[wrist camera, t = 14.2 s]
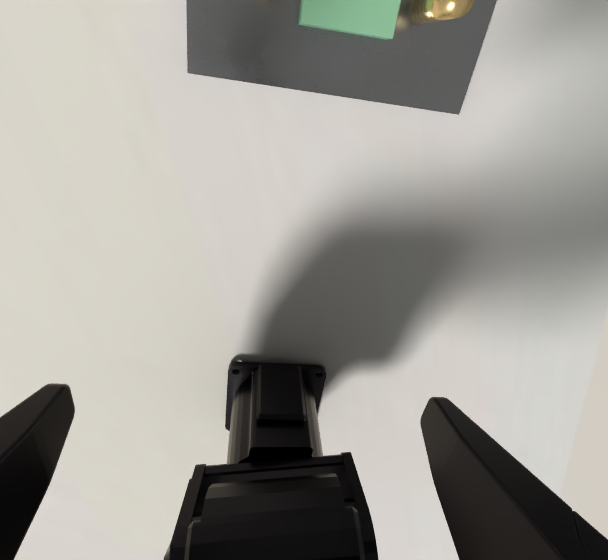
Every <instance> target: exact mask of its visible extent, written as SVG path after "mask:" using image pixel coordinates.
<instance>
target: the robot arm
mask: <svg viewBox="0 0 608 560" xmlns="http://www.w3.org/2000/svg"><path fill="white" fill-rule="evenodd" d="M234 369H238V370H234ZM318 372H320V373H318ZM325 378H326V369H325V367H323V366H321V365H303V364H278V363H254V362H233V363H231V364H230V365H229V369H228V384H227V404H226V423H225V427H226V429H227V430H229V431H230V434H229V445H228V456H227V464H221V465H209V466H206V464H200V465H196V466H195V469H194V473H193V476H192V479H190V480H189V483H188V487H187V490H186V493H185V497H184V500H183V503H182V507H181V510H180V514H179V517H178V520H177V524H176V527H175V530H174V534H173V537H172V541H171V543H170V545H169V548H168V550H167V552H166V554H165V556H164V560H378V552H377V546H376V539H375V533H374V528H373V524H372V519H371V515H370V512H369V508H368V505H367V502H366V499H365V496H364V492H363V489H362V486H361V483H360V480H359V477H358V474H357V470H356V467H355V464H354V461H353V458H352V455H351V452H345V453H341V455H329V456H323V453H322V446H321V439H320V432H319V425H318V418H317V412H318V408H319V403H320V399H321V395H322V391H323V387H324V383H325ZM74 413H75V407H74V403H73V399H72V394H71V390H70V387H69V386H68V385H67V384H47V385H45V386H44V387H42V388H41V389H40V390H38V391H37V392H35V393H34V394H33V395H31V396H30V397H28V398H27V399H25V400H24V401H23V402H21V403H20V404H18V405H17V406H16V407H14V408H13V409H11V410H10V411H9V412H7V413H6V414H4V415H3V416H1V417H0V560H14V558H15V556H16V554H17V552H18V550H19V547H20V545H21V543H22V541H23V539H24V537H25V535H26V533H27V531H28V529H29V527H30V525H31V522H32V520H33V518H34V516H35V514H36V512H37V510H38V508H39V506H40V504H41V502H42V499H43V497H44V495H45V493H46V491H47V489H48V486H49V484H50V482H51V479H52V477H53V474H54V471H55V468H56V466H57V463H58V460H59V457H60V454H61V452H62V449H63V446H64V443H65V440H66V437H67V435H68V432H69V429H70V426H71V423H72V421H73V418H74ZM421 429H422V433H423V437H424V442H425V446H426V451H427V455H428V459H429V464H430V468H431V473H432V477H433V480H434V484H435V487H436V491H437V494H438V497H439V500H440V503H441V506H442V509H443V512H444V515H445V518H446V521H447V524H448V527H449V530H450V533H451V536H452V539H453V542H454V545H455V548H456V551H457V554H458V557H459V560H608V539H606V538H605V537H604V536H603V535H602V534H600V533H599V532H598V531H597V530H596V529H595V528H594V527H592V526H591V525H590V524H589V523H588V522H587V521H586V520H584V519H583V518H582V517H581V516H580V515H579V514H578V513H577V512H575V511H572V508H571V507H570V506H568V505H567V504H566V503H565V502H564V501H563V500H562V499H561V498H559V497H558V496H557V495H556V494H555V493H554V492H553V491H551V490H550V489H549V488H548V487H547V486H546V485H545V484H544V483H542V482H541V481H540V480H539V479H538V478H537V477H536V476H535V475H533V474H532V473H531V472H530V471H529V470H528V469H527V468H525V467H524V466H523V465H522V464H521V463H520V462H519V461H518V460H516V459H515V458H514V457H513V456H512V455H511V454H510V453H508V452H507V451H506V450H505V449H504V448H503V447H502V446H501V445H499V444H498V443H497V442H496V441H495V440H494V439H493V438H492V437H490V436H489V435H488V434H487V433H486V432H485V431H484V430H482V429H481V428H480V427H479V426H478V425H477V424H476V423H475V422H473V421H472V420H471V419H470V418H469V417H468V416H467V415H465V414H464V413H463V412H462V411H461V410H460V409H459V408H458V407H456V406H455V405H454V404H453V403H452V402H451V401H450V400H448V399H447V398H444V397H432V398H430V399H429V401H428V403H427V405H426V408H425V410H424V412H423V414H422V416H421Z"/></svg>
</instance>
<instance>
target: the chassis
mask: <svg viewBox="0 0 608 560" xmlns="http://www.w3.org/2000/svg"><path fill="white" fill-rule="evenodd" d="M496 1H497V0H401V2H400V7H399V12H398V16H397V21H396V25H395V30H394V35H393V39H380V38H374V37H368V36H362V35H356V34H350V33H345V32H339V31H333V30H327V29H321V28H315V27H309V26H304V25H298V23H299V13H300V4H301V0H187V59H188V73H191V74H198V75H204V76H211V77H217V78H224V79H230V80H237V81H243V82H250V83H256V84H263V85H270V86H276V87H283V88H289V89H296V90H302V91H309V92H315V93H322V94H328V95H335V96H341V97H348V98H354V99H361V100H367V101H374V102H381V103H387V104H394V105H400V106H407V107H413V108H420V109H426V110H433V111H439V112H446V113H452V114H459V113H460V110H461V107H462V104H463V101H464V98H465V95H466V92H467V89H468V86H469V83H470V80H471V77H472V74H473V70H474V67H475V64H476V61H477V58H478V55H479V52H480V49H481V46H482V43H483V40H484V37H485V34H486V31H487V28H488V25H489V22H490V19H491V16H492V13H493V10H494V7H495V4H496Z"/></svg>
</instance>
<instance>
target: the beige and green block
mask: <svg viewBox="0 0 608 560" xmlns="http://www.w3.org/2000/svg"><path fill="white" fill-rule="evenodd" d="M400 2H401V0H301V4H300V13H299V23H298V25H304V26H309V27H315V28H321V29H327V30H333V31H339V32H345V33H350V34H356V35H362V36H368V37H374V38H380V39H393V35H394V30H395V25H396V21H397V16H398V12H399V7H400Z"/></svg>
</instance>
